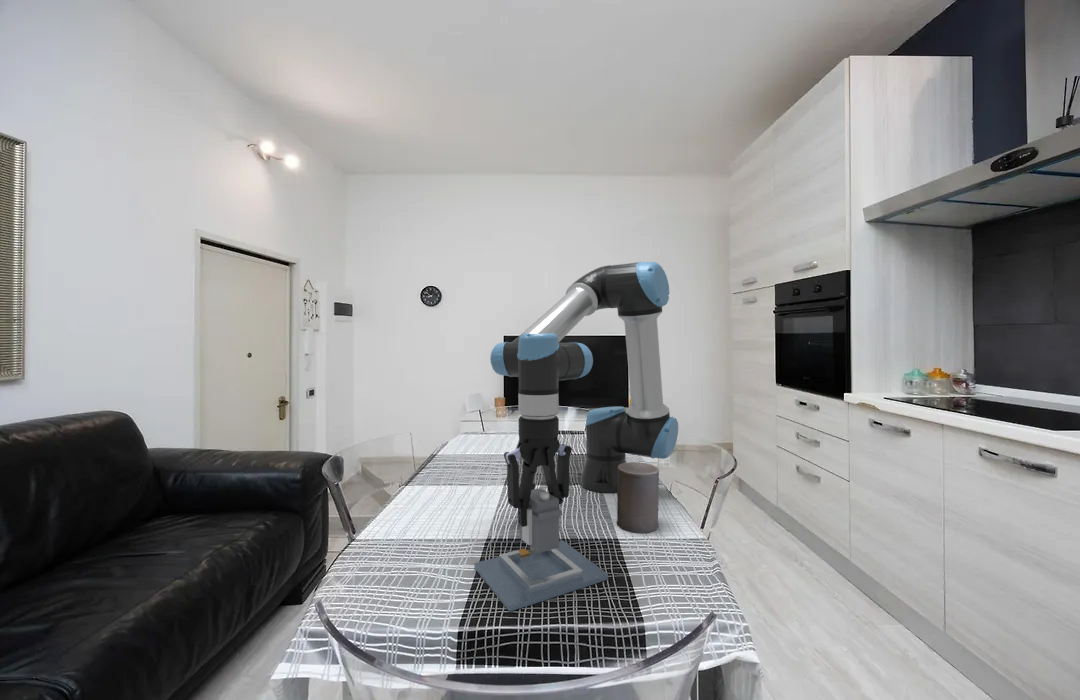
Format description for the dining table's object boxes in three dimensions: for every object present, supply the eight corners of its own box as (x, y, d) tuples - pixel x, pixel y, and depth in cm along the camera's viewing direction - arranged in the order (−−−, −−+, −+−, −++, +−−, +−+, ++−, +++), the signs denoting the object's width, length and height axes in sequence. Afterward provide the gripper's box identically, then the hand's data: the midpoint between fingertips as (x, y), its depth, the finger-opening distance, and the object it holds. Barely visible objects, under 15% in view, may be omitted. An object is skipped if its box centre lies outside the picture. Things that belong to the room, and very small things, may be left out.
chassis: (561, 544, 98) (561, 534, 98) (608, 579, 84) (608, 567, 84) (474, 567, 88) (473, 556, 88) (509, 612, 74) (509, 598, 74)
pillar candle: (608, 525, 108) (609, 462, 107) (630, 512, 115) (631, 454, 114) (645, 537, 101) (646, 471, 101) (666, 524, 108) (667, 461, 108)
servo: (538, 531, 91) (537, 481, 91) (562, 550, 83) (562, 495, 83) (518, 535, 89) (517, 485, 88) (541, 555, 81) (540, 500, 80)
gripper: (567, 408, 93) (567, 522, 93) (487, 416, 84) (488, 541, 85) (588, 414, 86) (589, 536, 87) (504, 423, 78) (505, 558, 78)
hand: (539, 538), depth 86 cm, fingers closed on servo, 4 cm apart
